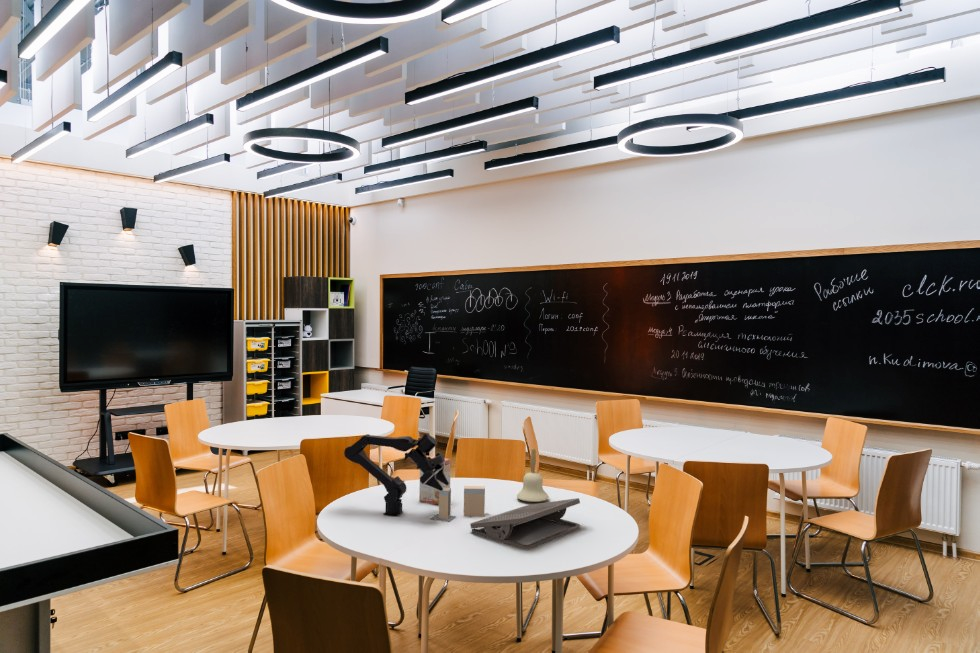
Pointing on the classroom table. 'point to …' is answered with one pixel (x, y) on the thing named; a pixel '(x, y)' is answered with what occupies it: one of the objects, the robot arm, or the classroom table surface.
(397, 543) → the classroom table surface
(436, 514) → the mat
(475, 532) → the foot rest
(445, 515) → the stub
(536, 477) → the handbell
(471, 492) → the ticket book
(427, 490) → the cracker box
